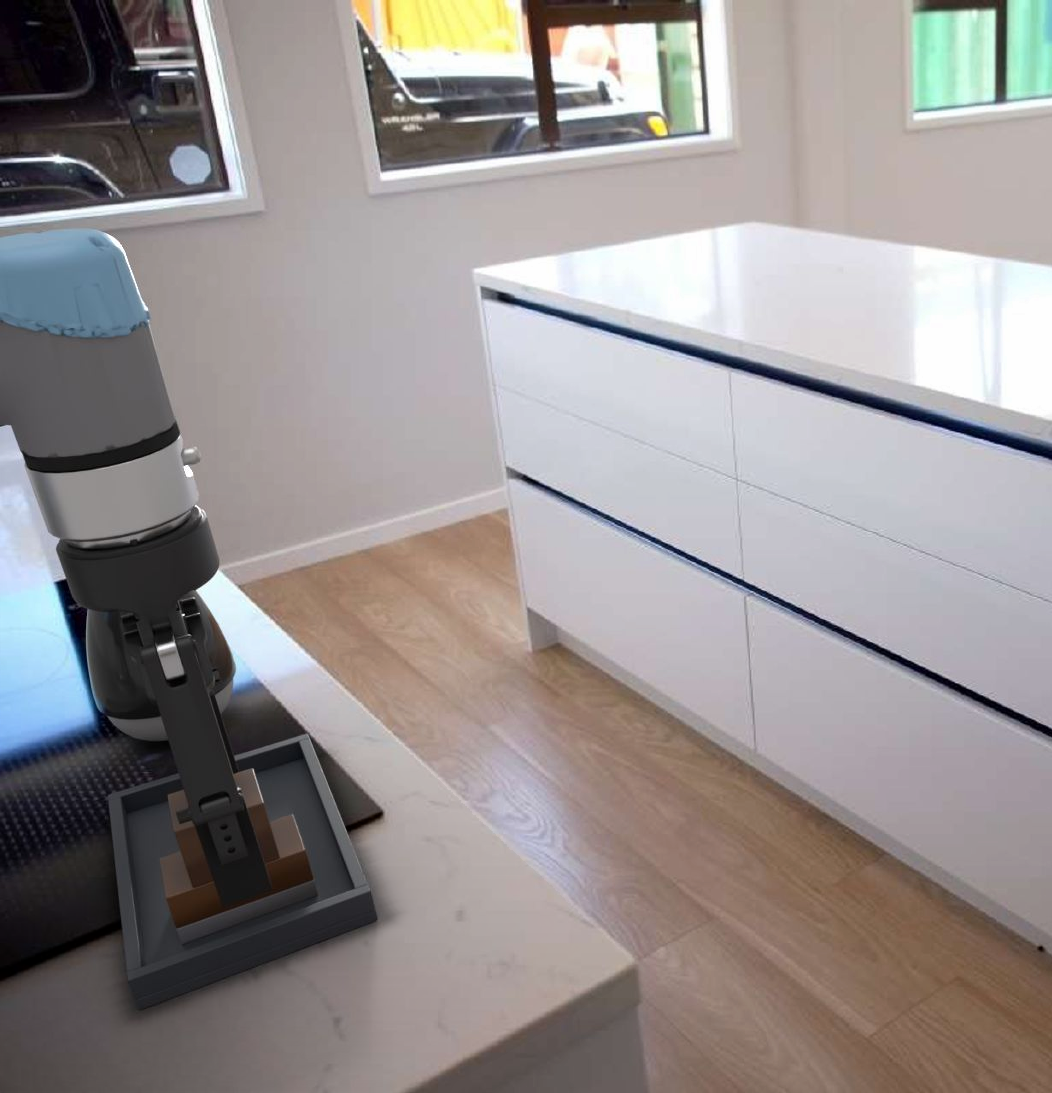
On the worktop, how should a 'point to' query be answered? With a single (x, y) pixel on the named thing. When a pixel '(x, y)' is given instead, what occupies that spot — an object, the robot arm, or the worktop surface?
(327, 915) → the tray
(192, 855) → the brown t-shaped block
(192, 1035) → the worktop surface
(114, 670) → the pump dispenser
